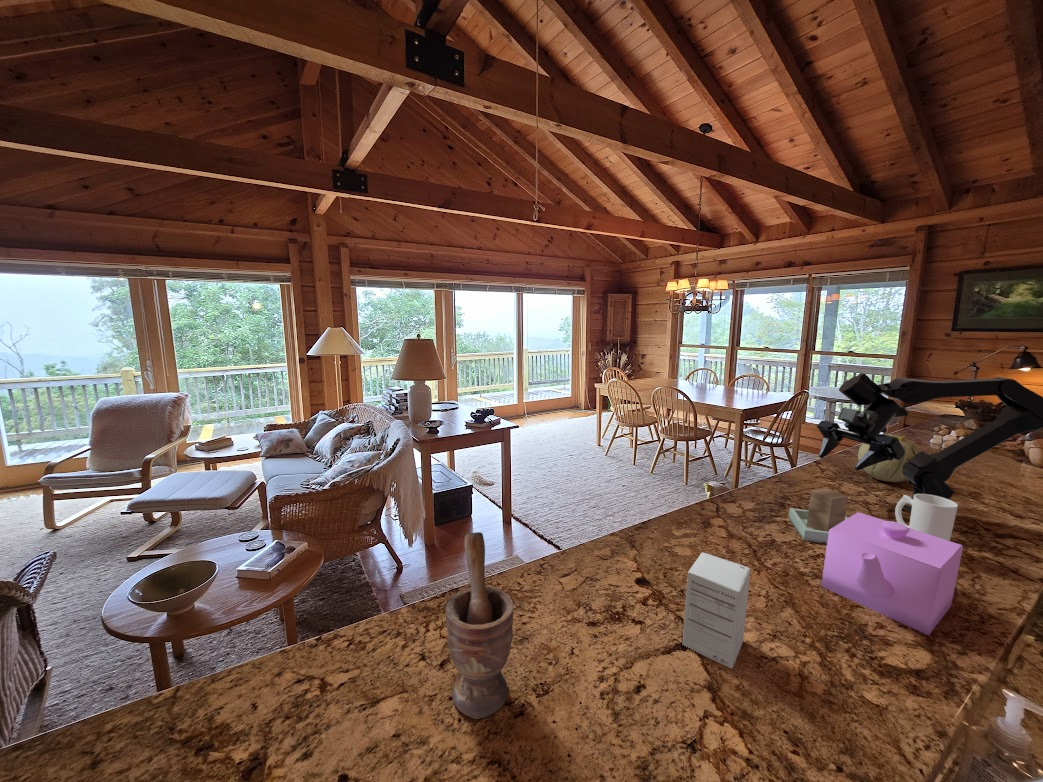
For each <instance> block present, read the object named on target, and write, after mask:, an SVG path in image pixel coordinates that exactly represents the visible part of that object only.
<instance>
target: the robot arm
mask: <svg viewBox="0 0 1043 782" xmlns="http://www.w3.org/2000/svg"><path fill="white" fill-rule="evenodd" d="M838 391H839V392H840V393H841V394H842V395H843V396H845V397H846V398H847V399H848V400H850V401H851V402H852V403H853V404H855V405H856V406H865V407H866V406H867V407H866V408H865V409H864V410H863V411H862V410H858V409H854V408H853V409H852V408H849V407H842V409H841V411H840V413H839V414H838V417H837V420H839V421H842V422H844V424H843V425H844V428H846V429H847V430H846V429H842V428H841V427H840V425H839V423H838V422H834V421H829V420H824V419H823V420H820V421H819V423H818V424H817V425H816V428H817V429H818V431H819V432H820V433H821V435H822V442H821V445H820V446H821V447H820V449H819V454H818V457H819V459H824V458H825V457H826V456H828V455H829V454H830V453H831V452H832V451H833V450H835V449H836V448H837V447H838V446H839V445H840V444H839V442H842V440H844V439H847V440H850V441H854V442H857V443H862V444H863V443H864V444H868V445H870V447H869V450H868V451H867V452H866V453H865V455H864V456H863V457H862V458H861V459H860V461H859V460H858V462H857V463H856V465H855V467H854V468H855V470H856V471H861V470H863V468H866V467H868V466H871V465H873V464H876V463H879V462H883V461H886V460H890V461H892V460H893V459H897V460H900V459H901V458H902V457H903V456H904V454H905V450H904V448H903V446H902V445H901V443H900V441H899V440H898V438H896V437H892V436H888V435H884V434H887V431H888V429H887V426H888V424H890V422H891V420H893V418H894V417H895V418H900V417H907V416H909V412H908V411H907V408H906V405H901V404H899V403H897V401H899V402H902V403H905V404H908V405H914V404H919V403H925V402H929V401H933V400H935V399H940V398H957V397H958V398H959V397H983V396H987V397H989V396H996V397H997V398H998V400H1000V402H1001V403H1003V404H1004V405H1005V407H1003V409H1002V410H1001V411H1000V413H999V415H998V417H996V418H995V419H994V420H992V421H990V422H989V423H987V424H985V425H983V426H982V427H980V428H979V429H978V428H977V430H975V431H973V432H971V433H970V434H968V435H966V436H964V437H962V438H961V439H958V441H956V442H954V443H953V444H951V445H948V446H947V447H945V448H943V449H942V450H940V451H938V452H936V453H927V452H925V451H923V450H921V451H919V453H918V454H916V455H915V456H914V457H912V458H908V459H906V460H907V461H908V462H906V463H905V464H904V465H903V466H902V467H903V468H902V473H903V475H904V476H905V477H906V478H907V479H908V480H907V482H908V484H909V485H910V486H912V487H913V489H912V495H911V498H912V499H913V498H914V495H915V494H929V495H934V496H939V497H942V498H946V499H949V500H951V498H952V496H953V495H954V493H955V491H954V490H953V489H952V488H951V487H950V486H949V485H948V484H947V483H946V482H947V481H948V480H949V479H950V478H951V477H952V475H953V473H955V470H956V469H958V468H959V467H961V466H962V465H964V464H966V463H967V462H969V461H971V460H973V459H975V458H977V457H978V456H981V455H982V454H984V453H986V452H988V451H989V450H992V449H993V448H995V447H997V446H999V445H1000V444H1002V443H1004V442H1005V441H1006V442H1007V440H1010V439H1011V438H1013V437H1015V436H1016V435H1019V434H1022V433H1027V432H1032V431H1038V430H1041V429H1043V396H1041V395H1040V394H1038V393H1036V392H1035V391H1033V390H1031V389H1029V388H1027V387H1025V386H1024V385H1022V384H1021V383H1020V382H1018V381H1017V380H1016V379H1013V378H1008V377H1002V376H996V377H991V378H970V379H953V380H951V379H950V380H926V379H918V378H907V377H897V378H895V379H893V380H892V381H890V382H887V383H880V384H877V383H876V382H874V380H872V379H871V378H870V377H869V376H868V375H867V374H866V373H862V372H860V373H858V375H856V376H853V377H851V378H849V379H847V380H845V381H844V382H843V383H842V384H841V385H840V387H839V389H838ZM887 397H889V398H887ZM895 400H896V401H895ZM903 509H905V510H906V511H908V512H909V513H910V514H911V510H912V505H911V504H909V505H907V504H905V505H904V506H903Z"/></svg>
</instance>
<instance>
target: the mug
mask: <svg viewBox="0 0 1043 782" xmlns="http://www.w3.org/2000/svg"><path fill="white" fill-rule="evenodd" d="M907 504H909V505H912V510H911V513H910V517H909V518H910V519H909V525H908V524H907V523H906V522H905V521H904V519H903V515H902V510H903V509H904V507H903V506H904V505H907ZM958 506H959V504H958V503H956V502H955V501H953V500H951V499H946V498H942V497H939V496H934V495H929V494H915V495H914V498H913V499H912V496H908V495H907V494H903V495H902V497H901V498H900V500H899V501H898V502H897V504H896V506H895V509H894V512H895V513H894V515H895V519H896V522H897V523H900V524H903V525H905V526H907V527H908V528H912V529H914V530H916V531H919V532H923V533H926V534H929V535H932V536H935V537H938V538H941V539H944V540H948V541H951V537H952V533H953V529H954V524H955V519H956V516H957V512H958Z"/></svg>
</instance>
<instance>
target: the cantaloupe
mask: <svg viewBox="0 0 1043 782" xmlns="http://www.w3.org/2000/svg"><path fill="white" fill-rule="evenodd" d="M883 434H884V435H888V436H892V437H896V438H898V440H899V441H900V443H901V445H902V446H903V448H904V450H905V454H904V456H903V457H902V458H901V459H900V460H897V459H893V460H892V461H890V460H886V461H883V462H879V463H876V464H873V465H871V466H868V467H866V468H863V469H862V470H864V472H865V473H867V474H868V475H869V476H870V477H872V478H874V479H875V480H878V481H883V482H887V483H902V482H905V481H908V479H907V478H906V477H905V476H904V475H903V473H902V468H903V467H902V466H903V465H904V464H905V463H906V462H908V461H907V460H906V459H908V458H912V457H914V456H915V455H916V454H918V453H919V452H920V451H919V449H918V447H917V446H916V445H914V443H913V442H911V441H910V440H908V439H907V438H908V437H907V435H902V436H900V435H896V434H890V433H883ZM869 447H870V445H868V444H864V443H862V444H861V445H860V447H859V450H858V453H857V459H858V462H859V461H860V459H861V458H862V457H863V456H864V455H865V453H866V452H867V451H868V450H869Z"/></svg>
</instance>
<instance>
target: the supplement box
mask: <svg viewBox="0 0 1043 782" xmlns="http://www.w3.org/2000/svg"><path fill="white" fill-rule="evenodd" d="M751 571H752V570H751V568H750V567H748V566H745V565H742V564H740V563H736V562H733V561H730V560H728V559H724V558H720V557H719V556H715V555H713V554H708V553H706V552H703V551H702V552H701V553H700V554H699V556H698V557H697V558H696V560H695V562H694V563H693V564H692V566H691V567H690V569H689V570H688V572H687V579H686V580H687V581H686V582H687V583H686V593H685V605H684V607H685V608H684V618H683V632H682V646H683V645H684V647H685V646H686V648H687V647H688V648H687V649H689V648H690V649H689V650H691V649H692V650H691V651H693V650H694V652H695V651H696V652H695V653H697V654H699V655H701V656H703V657H706V658H708V659H710V660H712V661H714V662H716V663H719V664H721V665H722V666H725V667H727V668H729V669H733V668H734V665H735V664H736V661H737V658H738V656H739V653H740V650H741V648H742V645H743V643H744V640H745V639H744V637H745V628H746V627H745V626H746V619H747V617H746V615H747V609H748V608H747V607H748V601H749V600H748V597H749V591H750V590H749V588H750V580H751V579H750V578H751Z"/></svg>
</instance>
